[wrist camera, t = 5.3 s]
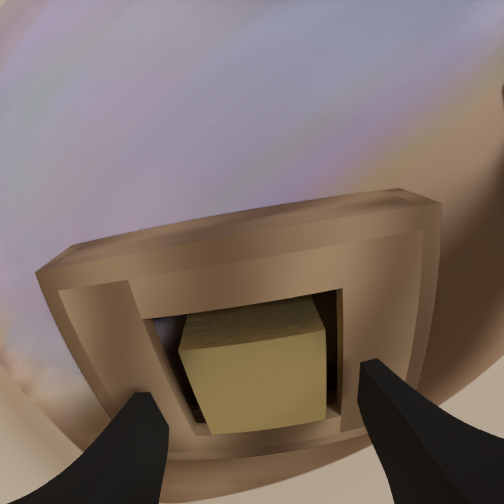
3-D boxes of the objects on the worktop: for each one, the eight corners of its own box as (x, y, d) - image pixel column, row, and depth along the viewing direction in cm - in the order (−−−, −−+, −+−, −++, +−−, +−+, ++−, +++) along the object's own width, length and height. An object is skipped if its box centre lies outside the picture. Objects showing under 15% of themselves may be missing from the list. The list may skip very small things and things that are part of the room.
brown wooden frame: (399, 188, 11) (441, 203, 8) (388, 384, 15) (407, 420, 12) (72, 245, 11) (34, 272, 9) (150, 419, 15) (140, 458, 12)
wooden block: (301, 275, 12) (325, 329, 9) (307, 357, 14) (325, 419, 10) (194, 291, 12) (177, 351, 9) (216, 371, 14) (211, 434, 10)
